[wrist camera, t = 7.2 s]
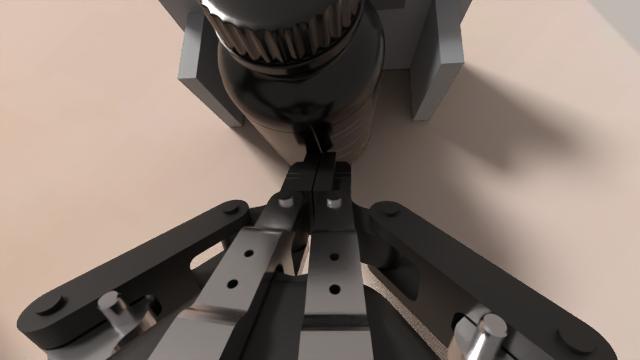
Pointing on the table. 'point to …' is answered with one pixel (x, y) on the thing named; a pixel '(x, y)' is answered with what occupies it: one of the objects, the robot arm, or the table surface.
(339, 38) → the supplement bottle
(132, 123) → the table surface
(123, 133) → the table surface
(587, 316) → the table surface
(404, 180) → the table surface
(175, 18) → the panel
